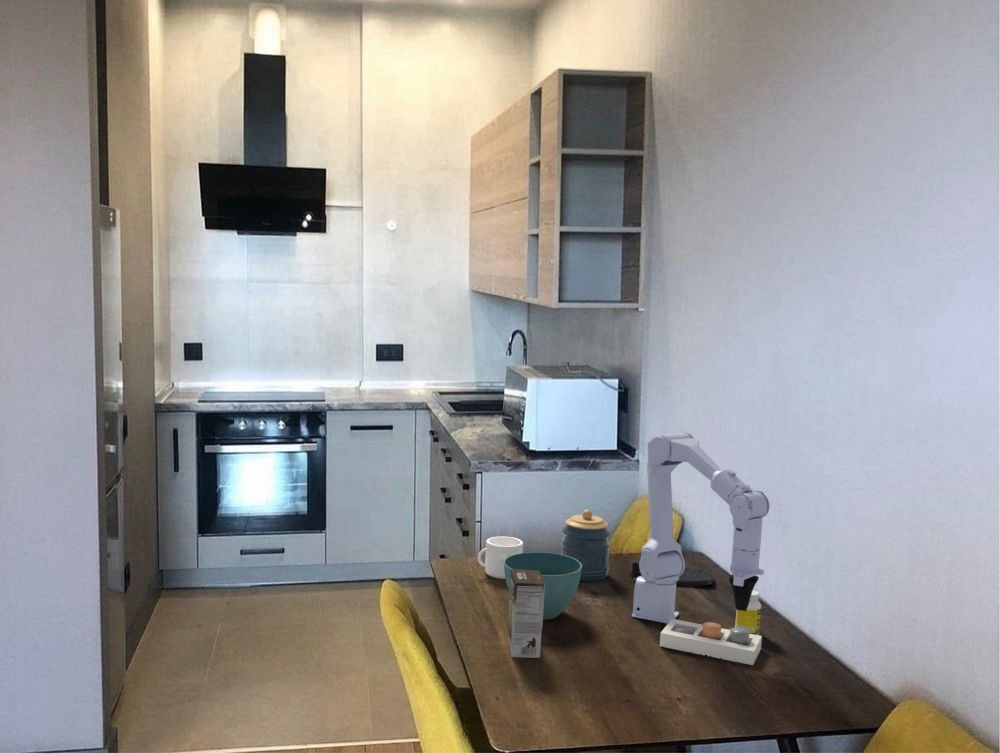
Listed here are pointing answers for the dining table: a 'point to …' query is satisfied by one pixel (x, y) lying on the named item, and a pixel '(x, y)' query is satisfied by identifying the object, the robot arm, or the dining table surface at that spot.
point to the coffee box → (526, 613)
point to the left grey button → (684, 630)
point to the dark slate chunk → (681, 576)
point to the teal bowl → (549, 577)
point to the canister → (587, 544)
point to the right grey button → (739, 636)
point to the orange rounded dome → (711, 630)
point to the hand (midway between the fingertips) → (741, 609)
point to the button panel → (709, 643)
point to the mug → (499, 554)
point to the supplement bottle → (750, 615)
